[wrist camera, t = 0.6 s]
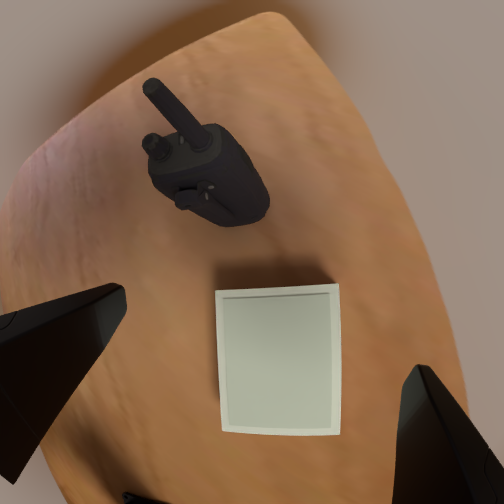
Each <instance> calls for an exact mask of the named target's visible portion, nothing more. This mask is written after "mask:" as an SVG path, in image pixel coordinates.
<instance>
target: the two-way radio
mask: <svg viewBox="0 0 504 504" xmlns="http://www.w3.org/2000/svg"><path fill="white" fill-rule="evenodd" d="M142 87H143V93H144V94H145V95H146V96H147V97H148V99H149V100H150V101H151V102H152V103H153V104H154V105H155V107H156V108H157V109H158V110H159V111H160V112H161V113H162V115H163V116H164V117H165V118H166V119H167V120H168V121H169V122H170V124H171V125H172V126H173V127H174V128H175V129H176V130H177V131H178V132H175V133H172V134H170V135H167V136H164V137H162V136H160V135H158V134H155V133H150V134H148V135H146V136H145V137H144V139H143V141H142V147H143V149H144V150H145V151H146V153H147V154H148V155H149V159H148V173H149V175H150V177H151V179H152V183H153V185H154V187H155V188H156V189H158V190H159V191H160V192H161V193H162V194H164V195H165V196H167V197H168V198H170V199H171V200H173V201H174V202H175V206H176V207H177V208H179V209H180V210H190V211H192V212H194V213H196V214H197V215H199V216H201V217H203V218H205V219H207V220H208V221H210V222H212V223H214V224H216V225H219V226H222V227H234V226H241V225H247V224H251V223H254V222H257V221H259V220H260V219H262V218H263V217H264V216H265V213H266V211H267V209H268V208H269V204H270V198H269V194H268V191H267V189H266V187H265V186H264V183H263V182H262V179H261V177H260V176H259V174H258V172H257V171H256V169H255V168H254V166H253V164H252V162H251V160H250V158H249V156H248V155H247V153H246V152H245V150H244V149H243V148H242V146H241V145H239V144H238V142H237V141H236V140H235V138H234V137H233V136H232V135H231V134H230V133H229V132H228V131H227V130H226V129H225V128H224V127H222V126H220V125H218V124H216V123H215V124H206V125H202V126H201V124H200V123H199V122H198V121H197V120H196V119H195V117H194V116H193V115H192V114H191V113H190V112H189V111H188V109H187V108H186V107H185V106H184V105H183V104H182V103H181V102H180V101H179V100H178V99H177V98H176V97H175V95H174V94H173V93H172V92H171V91H170V90H169V89H168V88H167V87H166V86H165V85H164V84H163V83H162V82H161V81H160V80H159V79H157V78H150V79H148V80H146V81H145V83H144V84H143V86H142Z"/></svg>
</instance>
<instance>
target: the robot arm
mask: <svg viewBox="0 0 504 504" xmlns="http://www.w3.org/2000/svg"><path fill="white" fill-rule="evenodd" d="M126 311H127V303H126V295H125V289H124V287H123V286H122V285H119V284H116V283H109V284H105V285H102V286H99V287H95V288H92V289H88V290H85V291H82V292H78V293H75V294H71V295H68V296H65V297H61V298H58V299H55V300H51V301H48V302H44V303H41V304H38V305H34V306H31V307H28V308H25V309H21V310H19V311H14V312H11V313H8V314H4V315H1V316H0V475H1V476H2V477H4V478H5V479H6V480H7V481H9V482H10V483H11V484H14V483H15V482H16V481H17V479H18V477H19V476H20V474H21V472H22V471H23V469H24V467H25V466H26V464H27V463H28V461H29V459H30V458H31V456H32V454H33V453H34V451H35V450H36V448H37V446H38V445H39V443H40V441H41V440H42V438H43V437H44V435H45V434H46V432H47V431H48V429H49V428H50V426H51V425H52V423H53V422H54V420H55V419H56V417H57V416H58V414H59V413H60V411H61V410H62V408H63V407H64V405H65V404H66V402H67V401H68V400H69V398H70V397H71V395H72V394H73V392H74V391H75V389H76V388H77V387H78V385H79V384H80V382H81V381H82V380H83V378H84V377H85V375H86V374H87V373H88V371H89V370H90V368H91V367H92V366H93V364H94V363H95V361H96V360H97V359H98V357H99V356H100V355H101V353H102V352H103V350H104V349H105V347H106V346H107V344H108V342H109V341H110V339H111V337H112V336H113V334H114V332H115V330H116V329H117V327H118V325H119V324H120V322H121V320H122V319H123V317H124V316H125V314H126ZM122 496H123V500H124V503H125V504H160V503H157V502H154V501H151V500H148V499H145V498H142V497H139V496H136V495H133V494H130V493H128V492H124V493H123V494H122ZM392 504H504V468H503V466H502V465H501V463H500V462H499V460H498V459H497V458H496V456H495V455H494V453H493V452H492V450H491V449H490V448H489V446H488V444H487V443H486V442H485V440H484V439H483V437H482V436H481V435H480V433H479V432H478V430H477V429H476V427H475V426H474V425H473V423H472V422H471V420H470V419H469V418H468V416H467V415H466V414H465V412H464V411H463V409H462V408H461V407H460V405H459V404H458V403H457V401H456V400H455V399H454V397H453V396H452V395H451V393H450V392H449V391H448V389H447V388H446V387H445V386H444V384H443V383H442V382H441V380H440V379H439V378H438V377H437V375H436V374H435V373H434V371H433V370H432V369H431V368H430V367H429V366H427V365H421V364H417V365H416V366H415V367H414V368H413V369H412V371H411V373H410V374H409V376H408V377H407V379H406V380H405V382H404V384H403V387H402V393H401V403H400V412H399V420H398V428H397V441H396V462H395V476H394V488H393V497H392Z"/></svg>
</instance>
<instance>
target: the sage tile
mask: <svg viewBox="0 0 504 504" xmlns="http://www.w3.org/2000/svg"><path fill="white" fill-rule="evenodd" d="M215 299H216V328H217V351H218V372H219V389H220V406H221V421H222V431H228V432H238V433H251V434H267V435H340V418H341V323H340V299H339V283H337V284H323V285H309V286H293V287H276V288H258V289H237V290H215Z"/></svg>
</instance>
